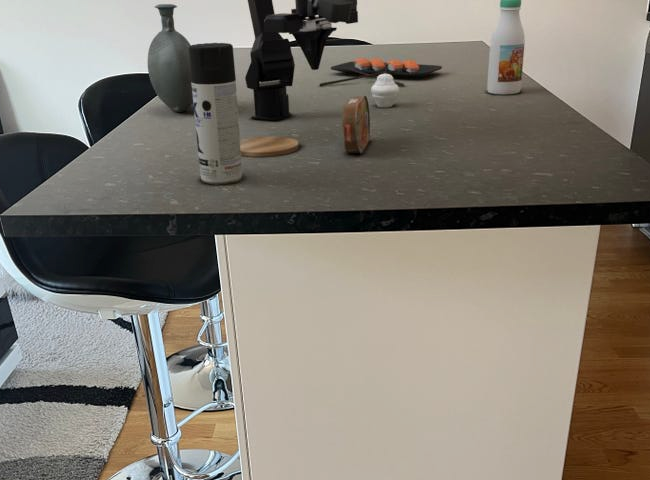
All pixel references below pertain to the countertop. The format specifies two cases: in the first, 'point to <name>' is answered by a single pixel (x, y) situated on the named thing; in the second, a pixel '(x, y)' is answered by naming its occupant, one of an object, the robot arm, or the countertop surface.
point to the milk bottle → (506, 51)
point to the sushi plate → (383, 69)
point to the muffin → (384, 90)
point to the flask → (170, 63)
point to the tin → (356, 124)
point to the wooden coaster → (267, 146)
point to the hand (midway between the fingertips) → (315, 69)
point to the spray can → (216, 112)
